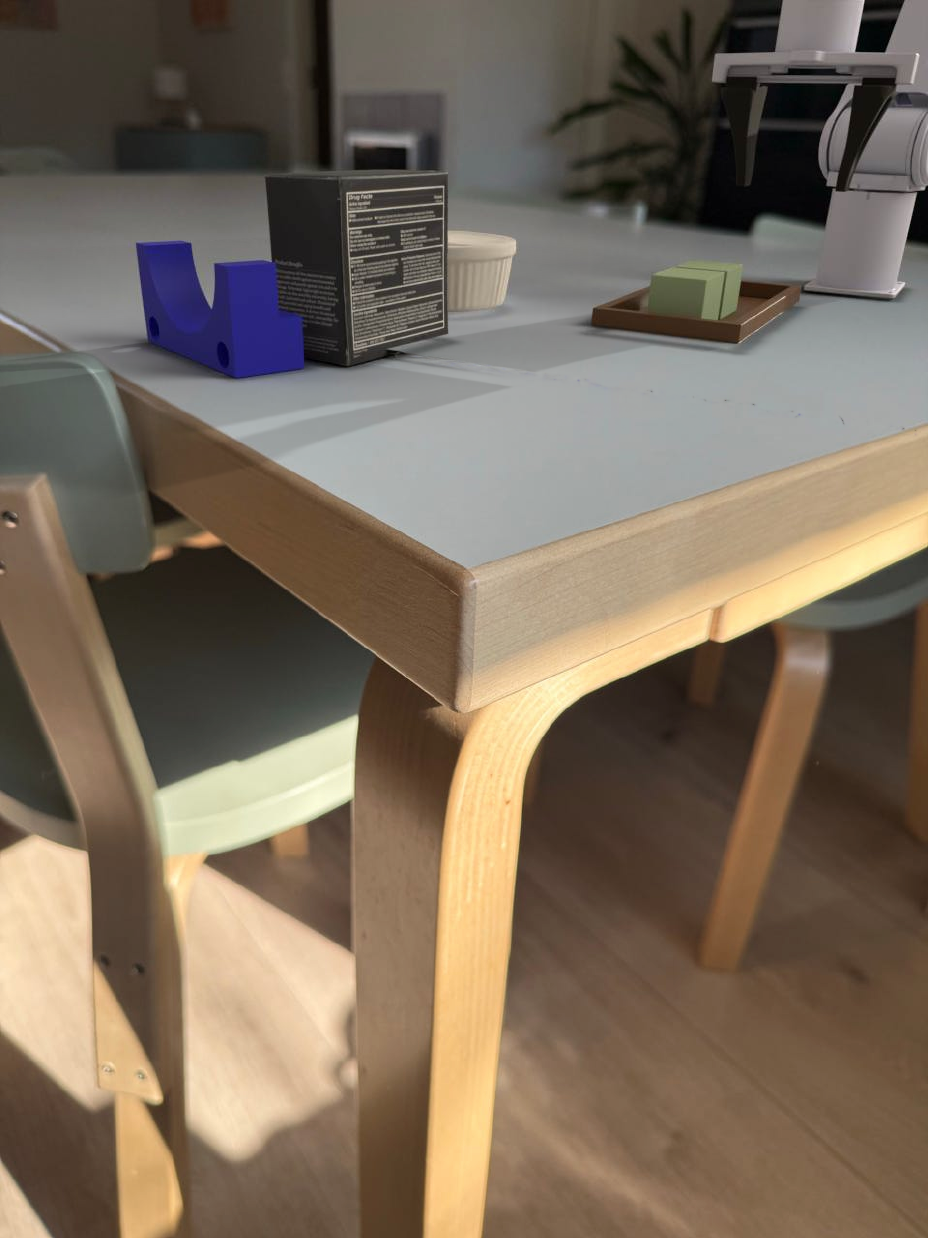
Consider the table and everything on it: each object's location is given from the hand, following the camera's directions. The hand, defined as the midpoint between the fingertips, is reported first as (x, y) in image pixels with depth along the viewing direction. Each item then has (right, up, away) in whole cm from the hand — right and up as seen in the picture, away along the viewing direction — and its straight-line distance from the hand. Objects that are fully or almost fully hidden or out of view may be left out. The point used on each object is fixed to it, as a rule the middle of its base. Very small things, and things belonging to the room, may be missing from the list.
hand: (791, 188), depth 75 cm
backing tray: (-7, -11, -1) cm, 13 cm away
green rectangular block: (-10, -12, -6) cm, 17 cm away
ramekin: (-28, -9, +1) cm, 29 cm away
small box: (-33, -16, -13) cm, 39 cm away
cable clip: (-41, -18, -16) cm, 48 cm away
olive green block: (-7, -10, -1) cm, 13 cm away
